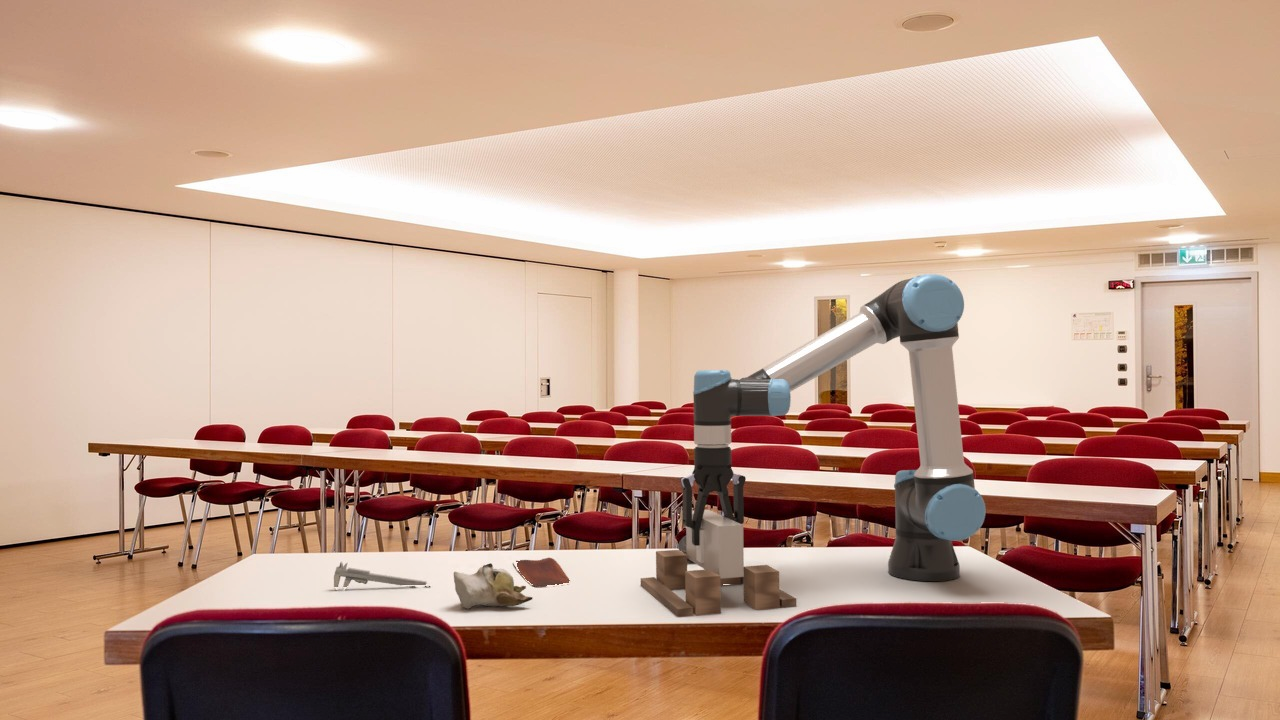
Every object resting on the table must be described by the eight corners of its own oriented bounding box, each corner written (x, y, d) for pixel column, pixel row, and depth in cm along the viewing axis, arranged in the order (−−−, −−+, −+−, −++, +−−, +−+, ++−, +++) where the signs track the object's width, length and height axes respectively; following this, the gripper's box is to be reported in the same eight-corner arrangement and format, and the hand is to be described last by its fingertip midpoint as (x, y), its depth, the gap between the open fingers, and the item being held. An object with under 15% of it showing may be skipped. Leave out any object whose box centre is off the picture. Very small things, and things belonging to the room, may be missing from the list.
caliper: (333, 592, 195) (333, 562, 195) (334, 591, 197) (334, 561, 197) (431, 588, 198) (431, 559, 198) (432, 587, 199) (432, 558, 199)
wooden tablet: (511, 565, 221) (511, 558, 221) (552, 562, 224) (552, 555, 224) (528, 591, 195) (528, 583, 195) (574, 587, 198) (574, 579, 198)
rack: (745, 576, 203) (745, 545, 203) (796, 606, 178) (795, 569, 178) (640, 585, 197) (640, 552, 197) (677, 616, 172) (677, 579, 172)
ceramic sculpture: (452, 558, 185) (526, 557, 189) (450, 601, 185) (524, 600, 189) (455, 569, 175) (534, 569, 179) (453, 615, 175) (532, 614, 178)
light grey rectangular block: (708, 556, 198) (708, 509, 198) (743, 576, 178) (743, 524, 178) (686, 557, 196) (686, 510, 196) (719, 578, 177) (718, 526, 177)
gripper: (747, 442, 194) (748, 554, 193) (664, 445, 189) (665, 559, 189) (761, 445, 186) (762, 561, 186) (675, 448, 182) (676, 567, 181)
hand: (713, 560), depth 187 cm, fingers closed on light grey rectangular block, 5 cm apart
